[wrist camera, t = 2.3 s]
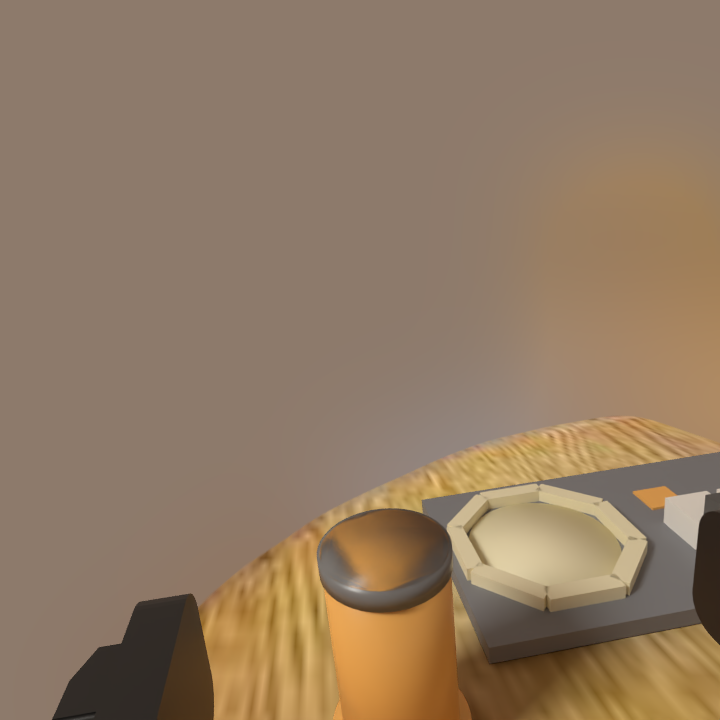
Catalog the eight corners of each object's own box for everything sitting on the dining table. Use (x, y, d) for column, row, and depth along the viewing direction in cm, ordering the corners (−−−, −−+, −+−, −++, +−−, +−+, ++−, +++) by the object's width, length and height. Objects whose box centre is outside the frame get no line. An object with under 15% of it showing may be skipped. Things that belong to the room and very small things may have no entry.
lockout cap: (450, 671, 27) (438, 494, 25) (494, 796, 22) (485, 584, 19) (330, 694, 27) (303, 516, 24) (342, 829, 21) (310, 615, 18)
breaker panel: (722, 463, 43) (728, 413, 42) (917, 581, 30) (933, 513, 29) (422, 511, 41) (418, 461, 40) (489, 663, 28) (486, 594, 26)
